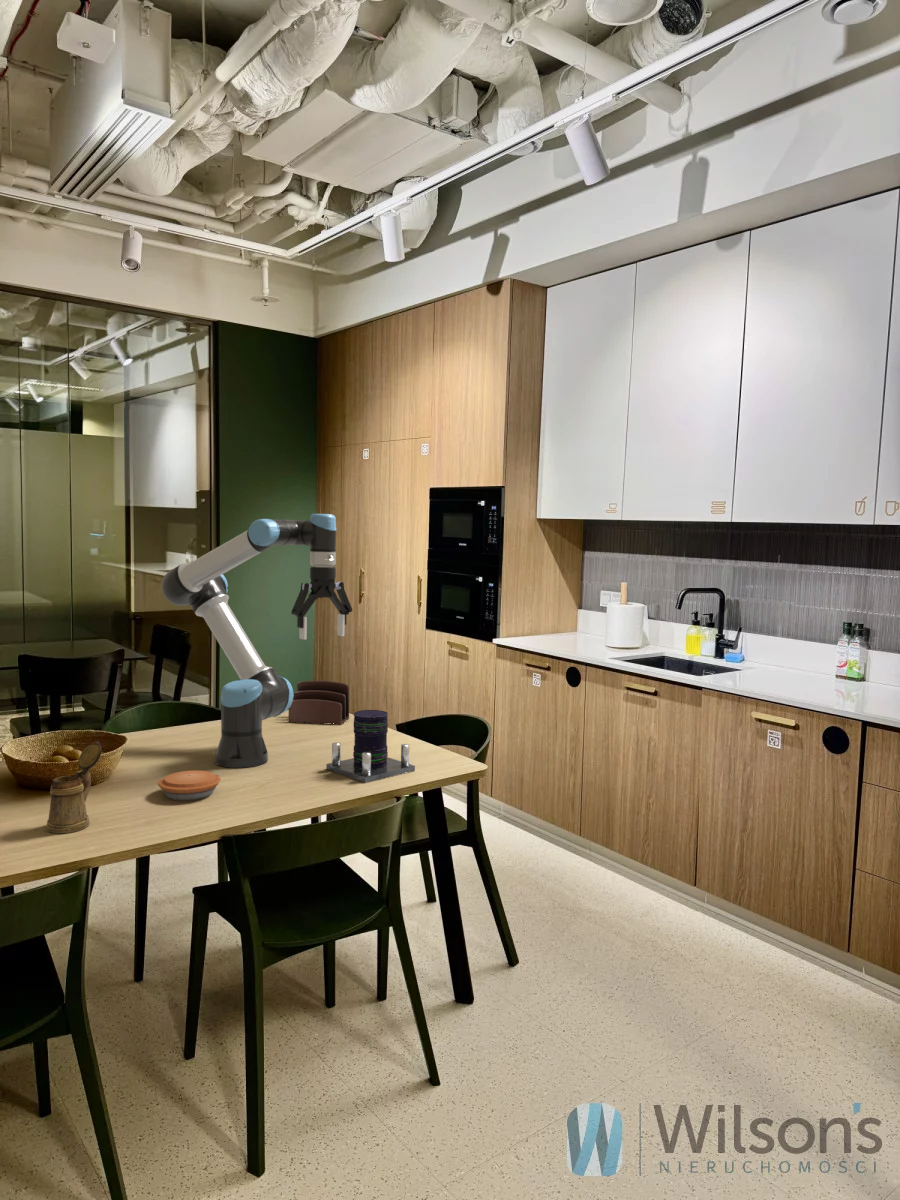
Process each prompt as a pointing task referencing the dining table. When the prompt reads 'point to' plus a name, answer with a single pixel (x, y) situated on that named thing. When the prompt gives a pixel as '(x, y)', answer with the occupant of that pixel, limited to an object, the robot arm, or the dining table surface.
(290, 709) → the letter holder
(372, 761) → the storage jar
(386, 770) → the post base
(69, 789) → the wooden mug
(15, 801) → the dining table surface
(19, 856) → the dining table surface
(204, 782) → the pie
